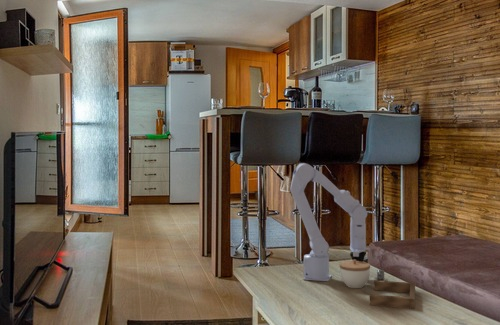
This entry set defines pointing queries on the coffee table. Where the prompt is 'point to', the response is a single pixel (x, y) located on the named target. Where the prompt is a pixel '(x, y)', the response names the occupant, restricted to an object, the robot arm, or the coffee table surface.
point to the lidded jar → (355, 273)
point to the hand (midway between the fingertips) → (358, 271)
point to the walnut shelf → (394, 300)
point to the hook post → (380, 275)
